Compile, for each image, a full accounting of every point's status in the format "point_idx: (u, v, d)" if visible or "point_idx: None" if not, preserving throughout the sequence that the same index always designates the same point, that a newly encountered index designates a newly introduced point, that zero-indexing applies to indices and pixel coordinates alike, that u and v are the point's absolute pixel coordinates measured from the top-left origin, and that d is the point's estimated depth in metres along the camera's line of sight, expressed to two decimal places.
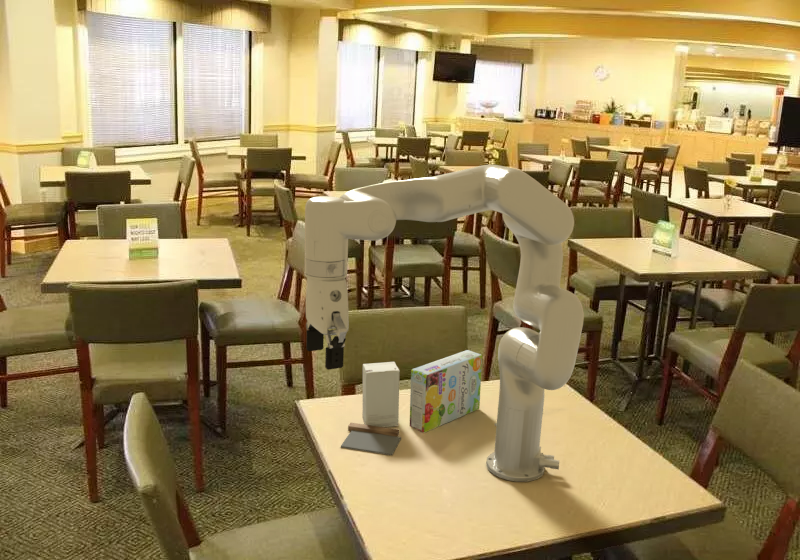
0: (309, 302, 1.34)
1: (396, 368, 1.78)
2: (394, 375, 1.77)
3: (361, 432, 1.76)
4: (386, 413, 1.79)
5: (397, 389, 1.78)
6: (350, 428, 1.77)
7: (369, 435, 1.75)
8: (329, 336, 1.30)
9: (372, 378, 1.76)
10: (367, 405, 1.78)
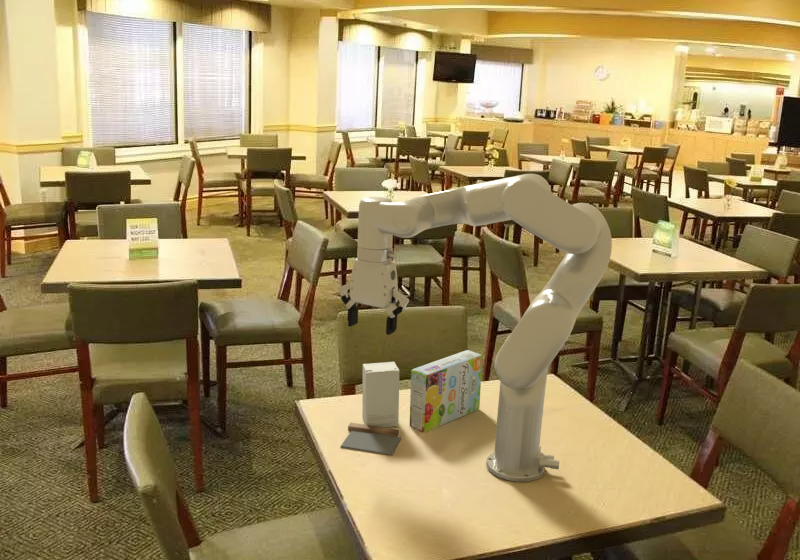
0: (361, 285, 1.63)
1: (396, 368, 1.78)
2: (394, 375, 1.77)
3: (361, 432, 1.76)
4: (386, 413, 1.79)
5: (397, 389, 1.78)
6: (350, 428, 1.77)
7: (369, 435, 1.75)
8: (390, 308, 1.63)
9: (372, 378, 1.76)
10: (367, 405, 1.78)
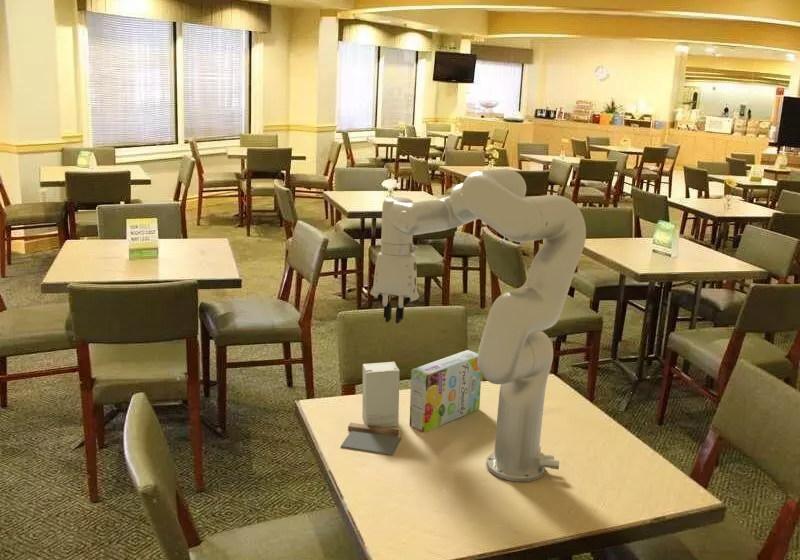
0: (386, 277, 1.81)
1: (396, 368, 1.78)
2: (394, 375, 1.77)
3: (361, 432, 1.76)
4: (386, 413, 1.79)
5: (397, 389, 1.78)
6: (350, 428, 1.77)
7: (369, 435, 1.75)
8: (403, 300, 1.83)
9: (372, 378, 1.76)
10: (367, 405, 1.78)
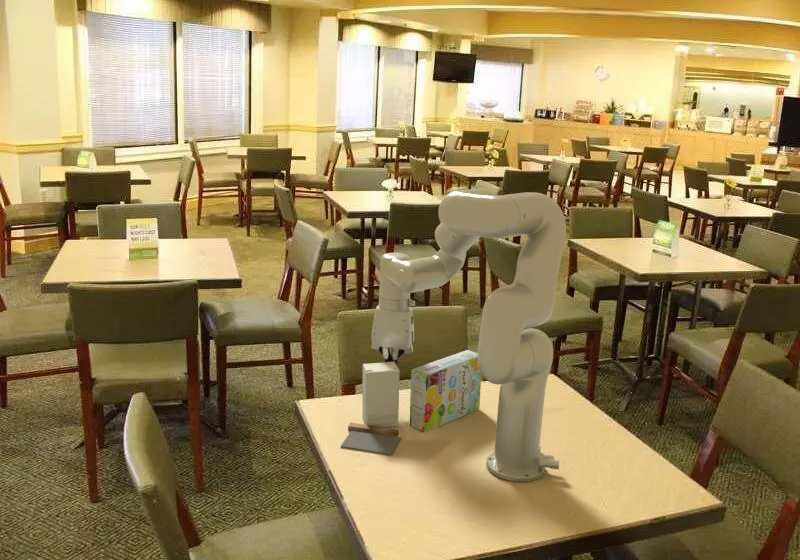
0: (384, 330, 1.85)
1: (396, 368, 1.78)
2: (394, 375, 1.77)
3: (361, 432, 1.76)
4: (386, 413, 1.79)
5: (397, 389, 1.78)
6: (350, 428, 1.77)
7: (369, 435, 1.75)
8: (398, 352, 1.87)
9: (372, 378, 1.76)
10: (367, 405, 1.78)
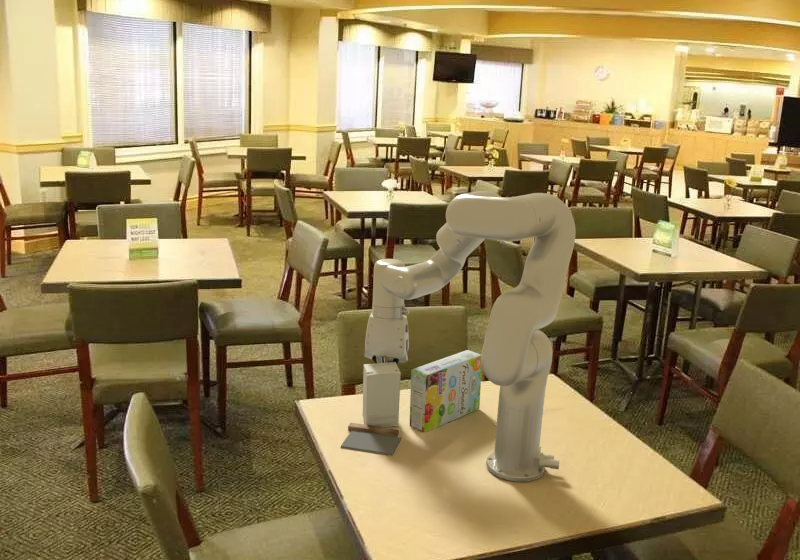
0: (377, 339, 1.79)
1: (397, 370, 1.76)
2: (395, 377, 1.76)
3: (361, 432, 1.76)
4: (386, 414, 1.79)
5: (398, 391, 1.77)
6: (350, 428, 1.77)
7: (369, 435, 1.75)
8: None
9: (373, 380, 1.75)
10: (367, 406, 1.77)
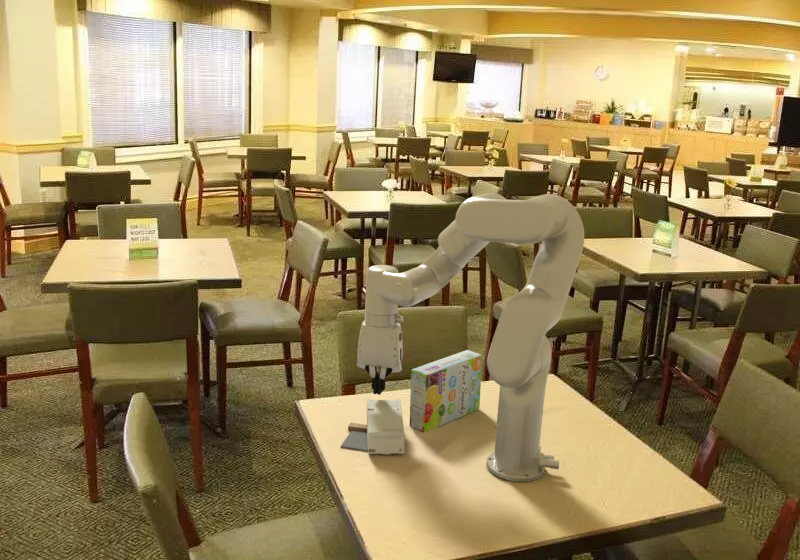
0: (370, 348, 1.73)
1: (401, 449, 1.66)
2: None
3: (361, 432, 1.76)
4: None
5: None
6: (350, 428, 1.77)
7: None
8: (386, 371, 1.75)
9: None
10: None
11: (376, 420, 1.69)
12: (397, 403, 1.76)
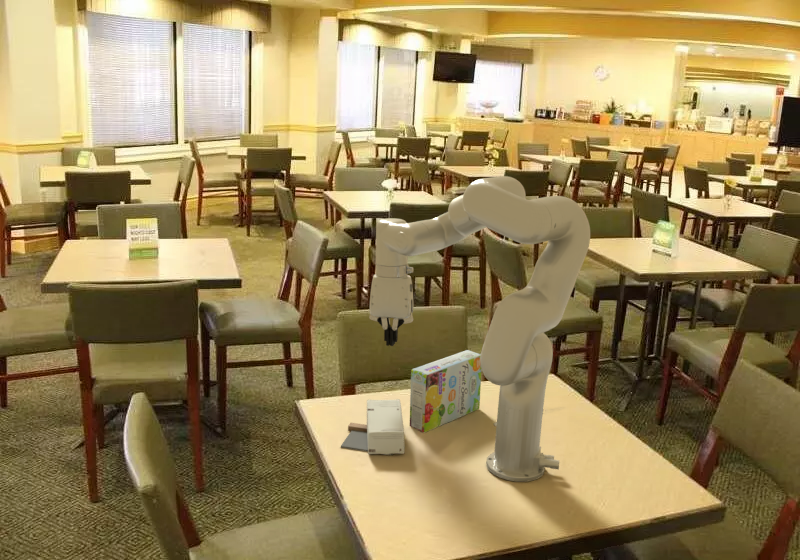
0: (382, 299, 1.78)
1: (401, 449, 1.66)
2: None
3: (361, 432, 1.76)
4: None
5: None
6: (350, 428, 1.77)
7: None
8: (398, 322, 1.80)
9: None
10: None
11: (376, 420, 1.69)
12: (397, 403, 1.76)
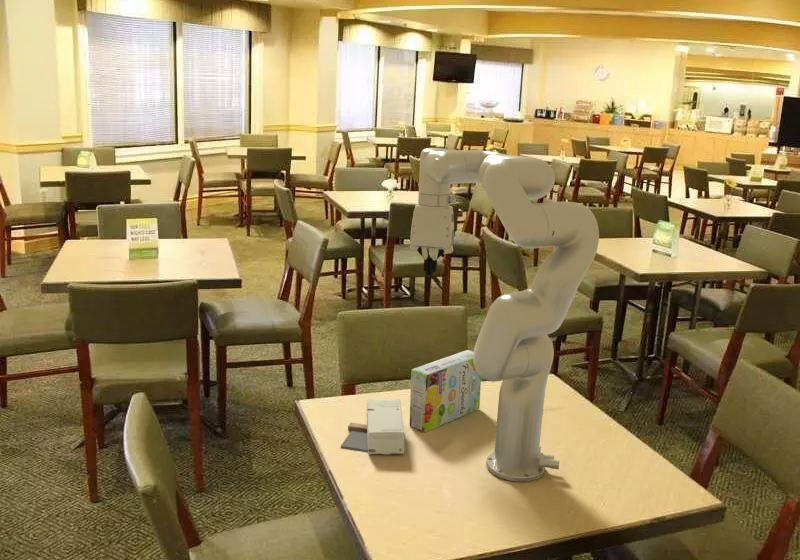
0: (424, 228, 1.79)
1: (401, 449, 1.66)
2: None
3: (361, 432, 1.76)
4: None
5: None
6: (350, 428, 1.77)
7: None
8: (438, 252, 1.81)
9: None
10: None
11: (376, 420, 1.69)
12: (397, 403, 1.76)
